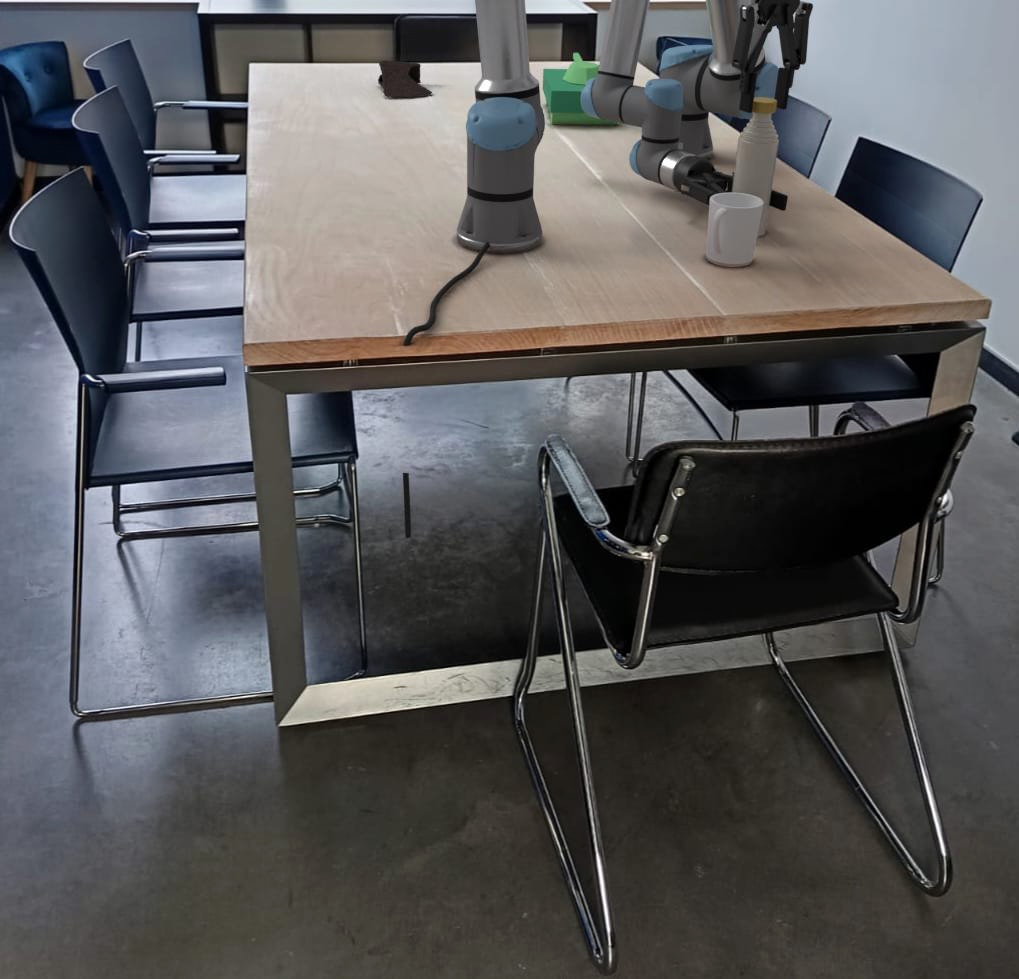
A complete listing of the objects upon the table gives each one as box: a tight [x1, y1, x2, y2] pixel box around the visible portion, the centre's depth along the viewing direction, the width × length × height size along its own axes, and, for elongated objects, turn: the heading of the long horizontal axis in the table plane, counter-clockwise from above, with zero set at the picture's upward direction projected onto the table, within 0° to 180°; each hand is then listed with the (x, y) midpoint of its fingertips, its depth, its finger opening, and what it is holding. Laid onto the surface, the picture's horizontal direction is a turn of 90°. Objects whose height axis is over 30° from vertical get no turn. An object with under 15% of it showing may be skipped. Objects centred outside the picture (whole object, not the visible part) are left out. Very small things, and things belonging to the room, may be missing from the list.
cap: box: [752, 97, 778, 115], centre depth 191 cm, size 5×5×2 cm
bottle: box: [732, 112, 780, 238], centre depth 197 cm, size 7×7×23 cm
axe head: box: [377, 59, 433, 99], centre depth 299 cm, size 18×8×15 cm
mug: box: [705, 193, 764, 268], centre depth 186 cm, size 11×9×10 cm
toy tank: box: [542, 52, 619, 126], centre depth 280 cm, size 18×12×35 cm
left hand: (762, 109), depth 192 cm, fingers open, 7 cm apart
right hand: (768, 206), depth 197 cm, fingers closed on bottle, 7 cm apart
